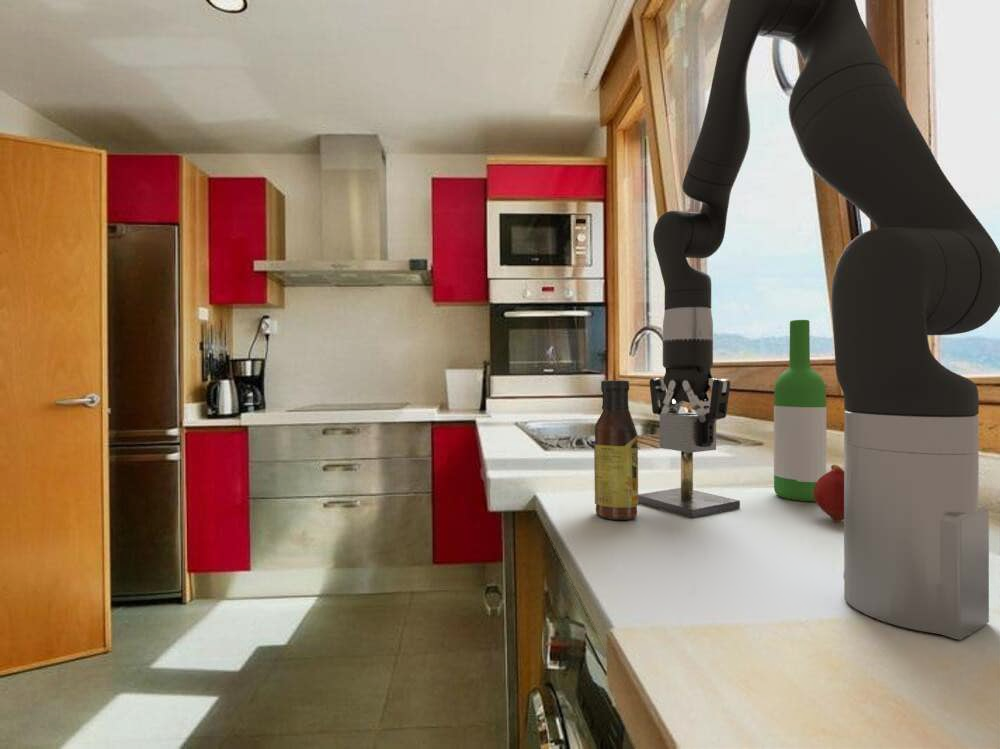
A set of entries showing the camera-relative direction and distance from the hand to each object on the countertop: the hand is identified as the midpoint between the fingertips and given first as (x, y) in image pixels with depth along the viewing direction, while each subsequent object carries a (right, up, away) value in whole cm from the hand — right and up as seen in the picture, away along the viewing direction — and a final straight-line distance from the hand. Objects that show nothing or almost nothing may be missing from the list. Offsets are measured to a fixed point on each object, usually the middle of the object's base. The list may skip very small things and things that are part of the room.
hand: (687, 443), depth 83 cm
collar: (0, -1, 0) cm, 1 cm away
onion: (+18, -10, -9) cm, 22 cm away
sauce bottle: (-13, -10, -6) cm, 17 cm away
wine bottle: (+21, -10, +5) cm, 24 cm away
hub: (0, -10, 0) cm, 10 cm away
